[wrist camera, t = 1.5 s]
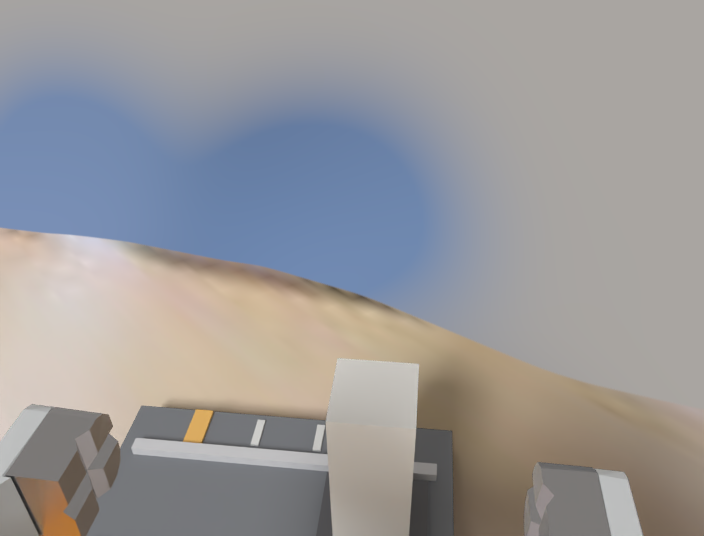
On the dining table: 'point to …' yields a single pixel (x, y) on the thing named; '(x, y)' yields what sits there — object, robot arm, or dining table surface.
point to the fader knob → (373, 452)
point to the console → (241, 476)
